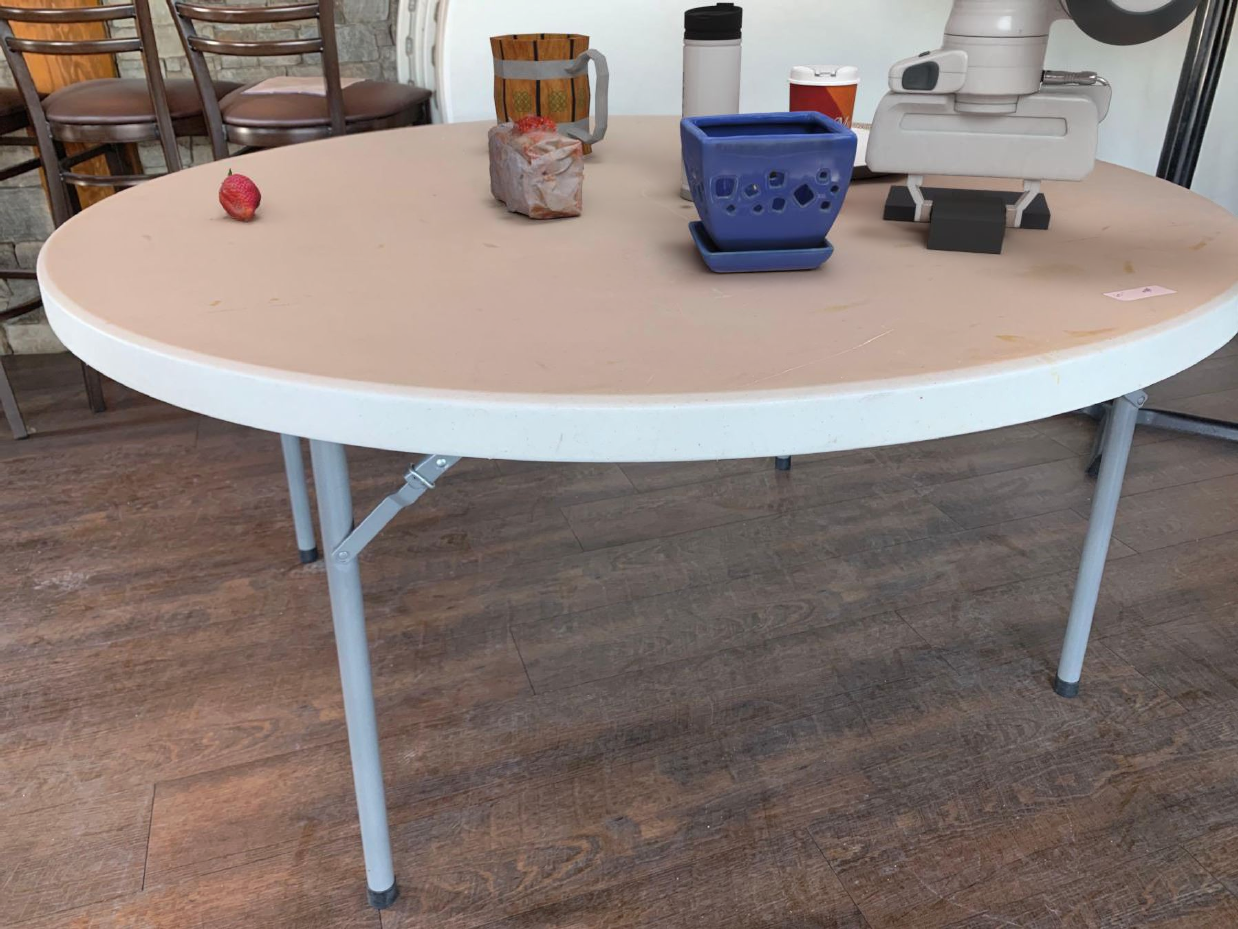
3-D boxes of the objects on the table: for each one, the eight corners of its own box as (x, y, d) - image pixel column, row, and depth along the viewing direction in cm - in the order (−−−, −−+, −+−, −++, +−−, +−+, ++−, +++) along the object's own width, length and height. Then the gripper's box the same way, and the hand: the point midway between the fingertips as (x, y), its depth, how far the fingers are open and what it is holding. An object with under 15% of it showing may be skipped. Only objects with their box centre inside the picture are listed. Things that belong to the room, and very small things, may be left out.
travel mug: (745, 193, 112) (754, 2, 103) (720, 204, 107) (728, 5, 98) (696, 187, 115) (701, 1, 105) (670, 199, 110) (673, 4, 100)
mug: (477, 152, 137) (468, 37, 130) (549, 140, 145) (545, 31, 138) (569, 171, 124) (564, 45, 117) (642, 156, 133) (642, 38, 126)
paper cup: (850, 211, 104) (864, 71, 97) (778, 209, 105) (787, 71, 98) (846, 195, 111) (859, 63, 104) (779, 193, 112) (787, 63, 105)
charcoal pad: (1041, 206, 105) (1044, 192, 104) (1047, 229, 96) (1051, 214, 95) (889, 198, 109) (891, 184, 108) (883, 219, 100) (884, 204, 100)
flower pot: (694, 283, 82) (698, 136, 76) (675, 241, 94) (677, 112, 88) (848, 278, 83) (863, 132, 77) (810, 237, 94) (821, 109, 89)
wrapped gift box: (595, 217, 103) (593, 120, 98) (526, 226, 99) (520, 126, 95) (543, 193, 113) (539, 104, 109) (479, 201, 110) (472, 109, 105)
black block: (996, 220, 99) (1001, 191, 98) (1000, 254, 89) (1006, 221, 87) (931, 216, 101) (935, 187, 100) (927, 248, 90) (931, 216, 89)
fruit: (228, 226, 101) (218, 177, 99) (219, 214, 106) (210, 168, 103) (270, 221, 103) (261, 173, 100) (259, 210, 107) (251, 163, 105)
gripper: (1112, 67, 86) (1079, 222, 93) (877, 63, 92) (862, 209, 98) (1121, 75, 81) (1086, 238, 88) (872, 70, 87) (856, 224, 93)
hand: (965, 223), depth 93 cm, fingers open, 7 cm apart
